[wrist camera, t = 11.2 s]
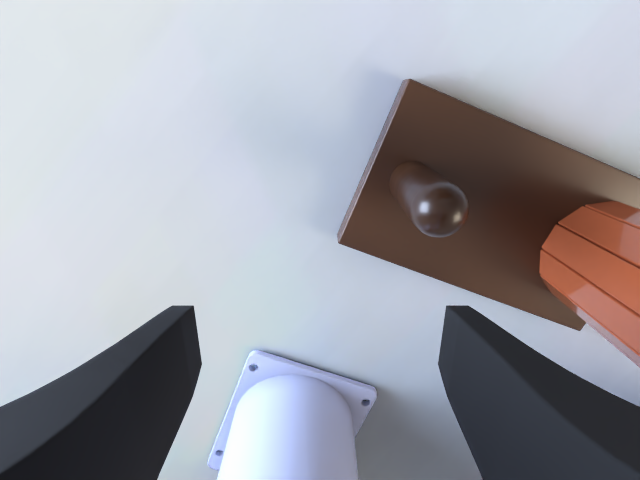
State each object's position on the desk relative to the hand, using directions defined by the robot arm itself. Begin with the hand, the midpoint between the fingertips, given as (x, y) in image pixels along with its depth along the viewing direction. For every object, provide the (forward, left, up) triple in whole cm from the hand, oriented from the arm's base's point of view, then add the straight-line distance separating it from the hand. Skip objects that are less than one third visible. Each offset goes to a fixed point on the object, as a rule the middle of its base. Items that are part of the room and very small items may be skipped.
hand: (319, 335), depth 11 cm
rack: (+4, -8, -9) cm, 13 cm away
